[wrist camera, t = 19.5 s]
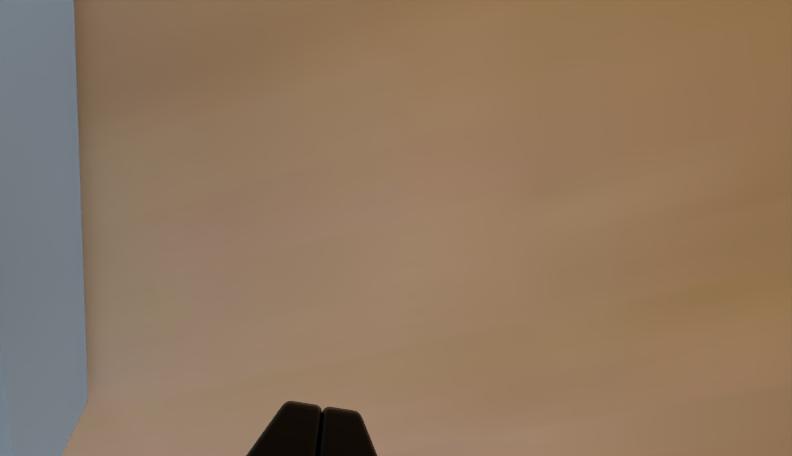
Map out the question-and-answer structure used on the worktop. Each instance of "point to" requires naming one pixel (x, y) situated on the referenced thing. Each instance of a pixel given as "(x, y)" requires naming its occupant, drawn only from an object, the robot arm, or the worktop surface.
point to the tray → (40, 231)
